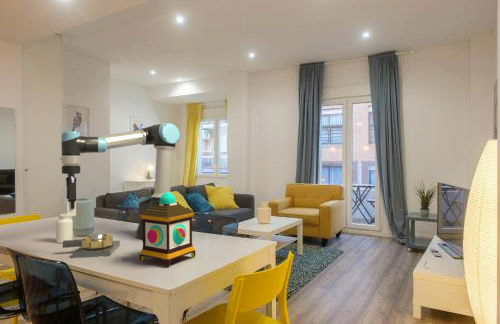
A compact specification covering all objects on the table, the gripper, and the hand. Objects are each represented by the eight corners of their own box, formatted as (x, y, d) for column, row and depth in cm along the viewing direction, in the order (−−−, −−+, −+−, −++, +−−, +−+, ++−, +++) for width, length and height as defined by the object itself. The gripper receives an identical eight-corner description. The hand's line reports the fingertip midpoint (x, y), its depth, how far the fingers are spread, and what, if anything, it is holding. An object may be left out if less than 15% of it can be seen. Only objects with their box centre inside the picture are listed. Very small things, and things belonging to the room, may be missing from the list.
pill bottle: (65, 243, 179) (65, 215, 179) (52, 243, 181) (52, 215, 181) (76, 240, 187) (75, 213, 187) (63, 239, 188) (63, 212, 188)
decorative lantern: (167, 251, 163) (167, 189, 163) (200, 257, 153) (199, 191, 152) (134, 262, 145) (133, 192, 145) (168, 269, 135) (167, 195, 135)
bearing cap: (119, 245, 175) (119, 229, 175) (109, 256, 155) (109, 237, 155) (87, 246, 172) (87, 230, 172) (72, 257, 152) (72, 239, 152)
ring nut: (113, 240, 172) (113, 232, 172) (111, 247, 159) (111, 237, 159) (66, 244, 165) (65, 235, 165) (60, 251, 152) (60, 241, 152)
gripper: (59, 165, 161) (60, 212, 161) (63, 165, 144) (64, 218, 144) (77, 164, 165) (77, 211, 165) (83, 165, 148) (83, 217, 148)
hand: (71, 214), depth 155 cm, fingers open, 8 cm apart
